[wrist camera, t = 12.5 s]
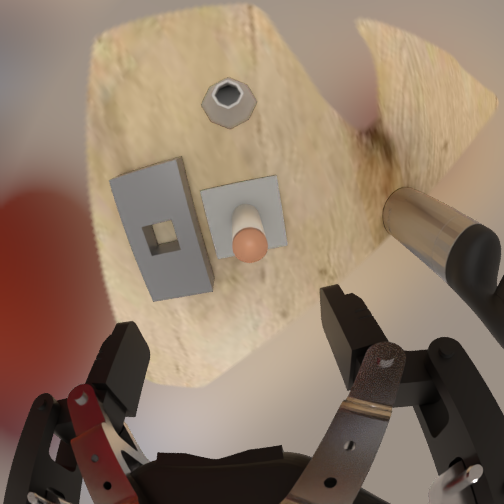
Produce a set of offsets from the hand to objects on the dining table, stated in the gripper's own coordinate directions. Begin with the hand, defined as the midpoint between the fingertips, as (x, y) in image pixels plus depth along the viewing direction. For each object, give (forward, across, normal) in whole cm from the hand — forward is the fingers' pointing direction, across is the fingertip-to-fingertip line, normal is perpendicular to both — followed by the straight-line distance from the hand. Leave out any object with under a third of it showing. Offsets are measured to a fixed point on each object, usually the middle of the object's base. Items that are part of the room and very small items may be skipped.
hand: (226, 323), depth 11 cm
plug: (+29, -1, +6) cm, 30 cm away
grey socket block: (+30, +11, +5) cm, 32 cm away
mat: (+30, -1, +6) cm, 31 cm away
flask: (+30, -2, -11) cm, 32 cm away
